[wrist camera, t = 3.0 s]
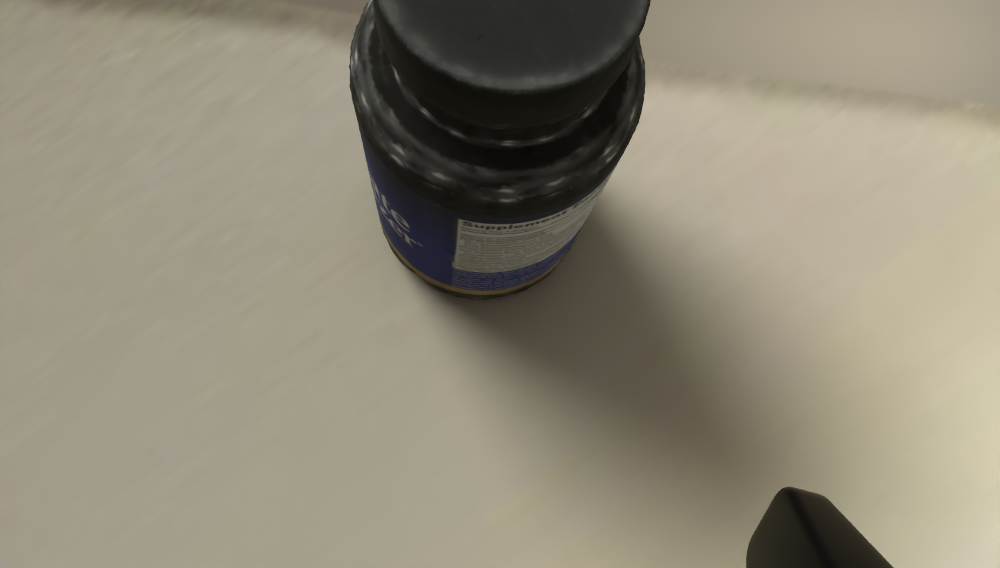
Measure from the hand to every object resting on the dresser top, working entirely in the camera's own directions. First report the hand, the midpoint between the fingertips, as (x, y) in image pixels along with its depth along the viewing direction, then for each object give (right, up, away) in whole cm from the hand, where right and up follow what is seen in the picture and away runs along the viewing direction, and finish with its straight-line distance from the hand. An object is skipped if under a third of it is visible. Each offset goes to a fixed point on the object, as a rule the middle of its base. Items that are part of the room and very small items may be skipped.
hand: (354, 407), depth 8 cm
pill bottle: (+1, +4, +15) cm, 16 cm away
